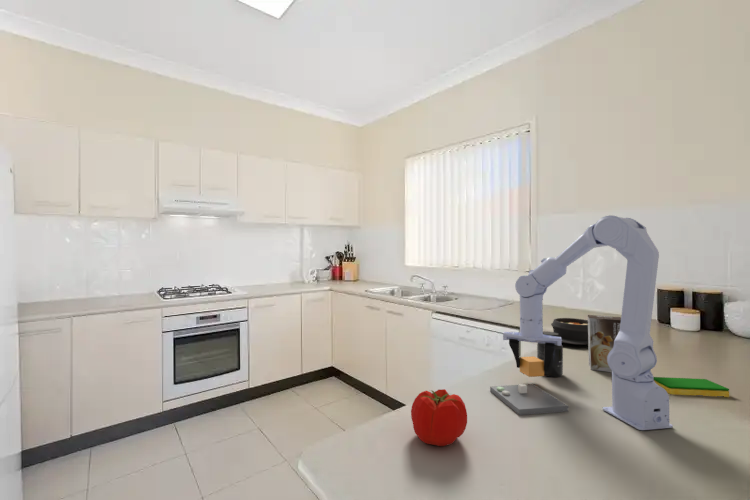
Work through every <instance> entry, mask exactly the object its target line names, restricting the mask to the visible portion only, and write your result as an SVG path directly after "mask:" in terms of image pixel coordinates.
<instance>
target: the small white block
mask: <svg viewBox="0 0 750 500" xmlns="http://www.w3.org/2000/svg"><path fill="white" fill-rule="evenodd" d="M517 385H518V392H519V393H521V394H523V393H527V386H526V385H525V383H519V384H517Z"/></svg>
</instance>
